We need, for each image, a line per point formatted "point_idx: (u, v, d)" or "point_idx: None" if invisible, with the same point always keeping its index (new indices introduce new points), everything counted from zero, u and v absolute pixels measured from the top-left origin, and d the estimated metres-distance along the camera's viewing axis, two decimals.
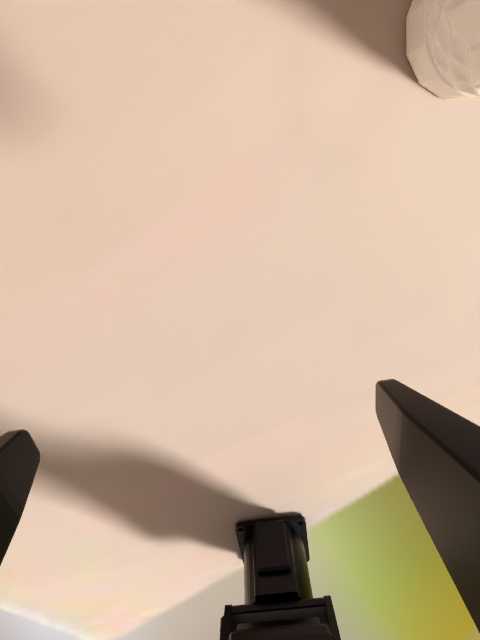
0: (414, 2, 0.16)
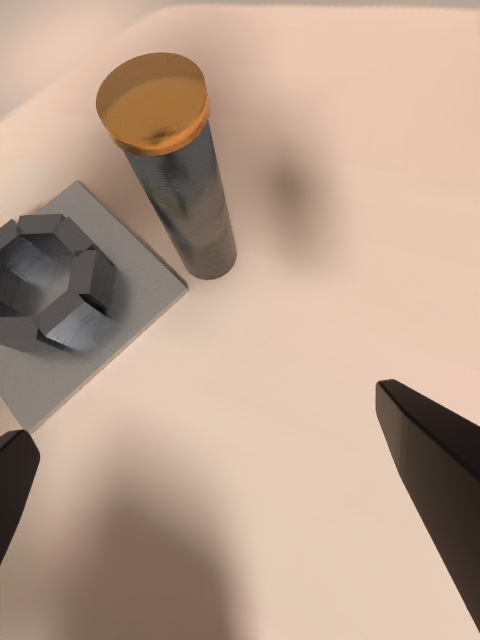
0: None
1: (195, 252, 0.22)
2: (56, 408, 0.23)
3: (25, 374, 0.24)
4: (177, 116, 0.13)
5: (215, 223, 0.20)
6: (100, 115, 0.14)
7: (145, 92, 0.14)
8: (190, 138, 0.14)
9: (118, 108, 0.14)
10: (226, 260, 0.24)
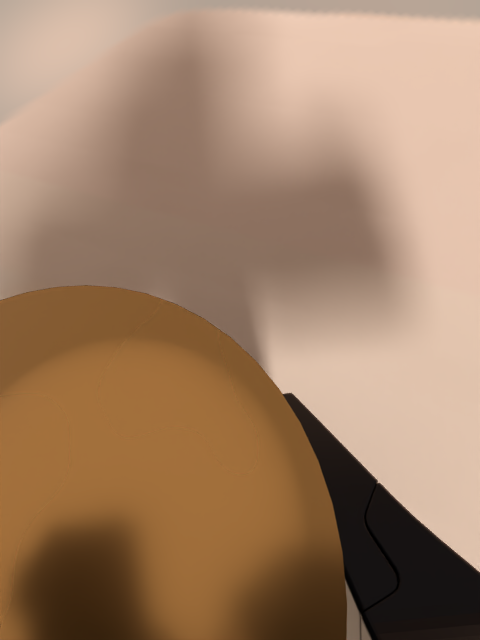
0: None
1: None
2: None
3: None
4: None
5: None
6: None
7: (5, 566, 0.03)
8: None
9: None
10: None
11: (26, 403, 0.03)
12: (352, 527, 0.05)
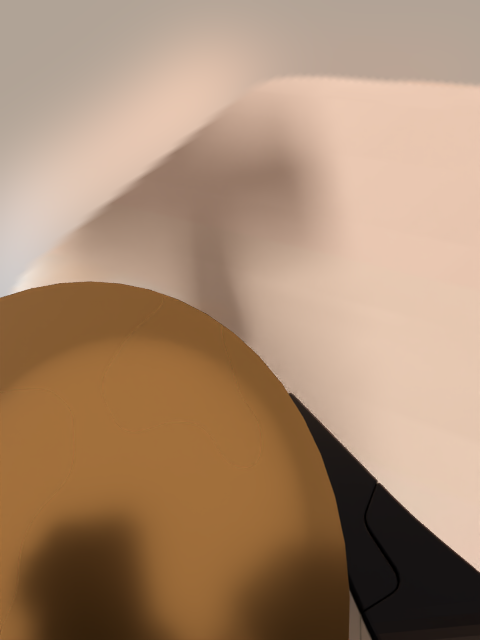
0: None
1: None
2: None
3: None
4: None
5: None
6: None
7: (10, 558, 0.03)
8: None
9: None
10: None
11: (30, 398, 0.03)
12: (352, 527, 0.05)
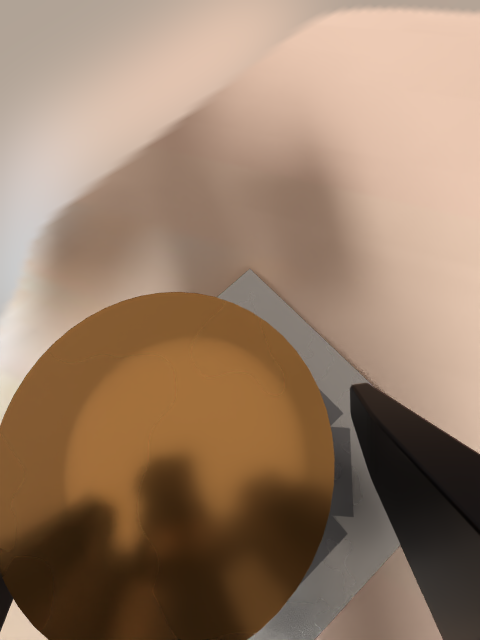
0: None
1: None
2: None
3: None
4: (247, 590, 0.04)
5: None
6: None
7: (143, 445, 0.04)
8: None
9: (53, 503, 0.04)
10: None
11: (147, 359, 0.05)
12: None
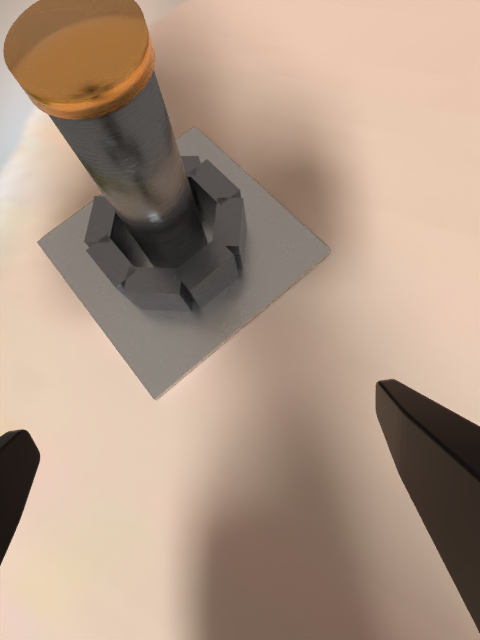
0: None
1: (153, 242, 0.19)
2: (185, 374, 0.21)
3: (148, 334, 0.22)
4: (103, 68, 0.10)
5: (174, 210, 0.17)
6: (7, 60, 0.11)
7: (68, 34, 0.11)
8: (124, 100, 0.11)
9: (31, 53, 0.11)
10: (192, 254, 0.21)
11: (72, 9, 0.11)
12: None
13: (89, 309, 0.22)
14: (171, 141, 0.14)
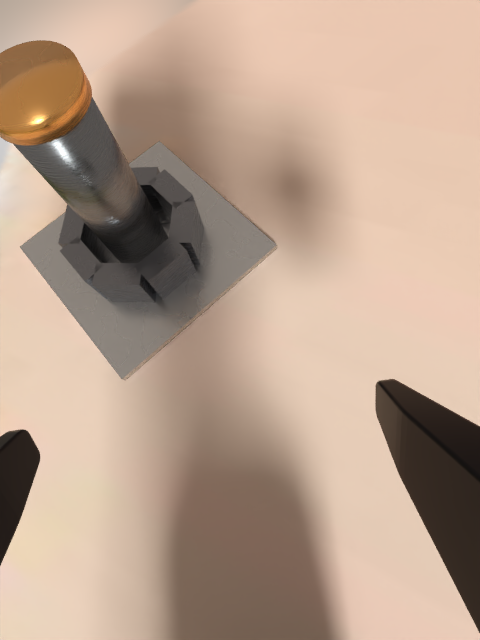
0: None
1: (115, 242, 0.22)
2: (150, 356, 0.24)
3: (117, 323, 0.24)
4: (47, 106, 0.13)
5: (128, 214, 0.20)
6: None
7: (21, 80, 0.14)
8: (66, 128, 0.14)
9: None
10: None
11: (24, 59, 0.14)
12: None
13: (65, 303, 0.25)
14: (117, 157, 0.17)
